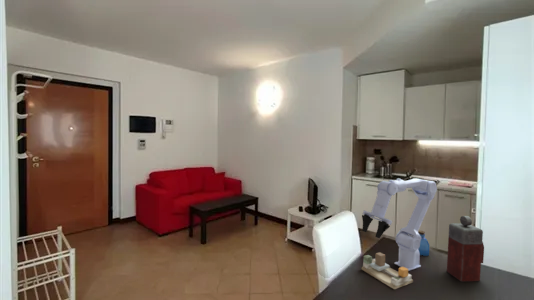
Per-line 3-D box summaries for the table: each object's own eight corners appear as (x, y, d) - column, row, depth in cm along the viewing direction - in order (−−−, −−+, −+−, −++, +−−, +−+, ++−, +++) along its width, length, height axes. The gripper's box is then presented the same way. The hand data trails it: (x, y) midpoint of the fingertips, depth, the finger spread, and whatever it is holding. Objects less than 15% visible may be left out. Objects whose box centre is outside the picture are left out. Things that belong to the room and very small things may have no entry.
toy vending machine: (485, 280, 118) (488, 219, 116) (461, 281, 117) (464, 219, 115) (468, 270, 127) (472, 213, 125) (446, 271, 126) (449, 213, 124)
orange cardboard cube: (402, 273, 117) (403, 266, 116) (407, 275, 114) (408, 269, 114) (398, 274, 115) (398, 268, 115) (403, 277, 113) (403, 270, 113)
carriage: (380, 263, 128) (381, 250, 128) (389, 267, 124) (390, 254, 123) (370, 266, 125) (370, 253, 125) (379, 271, 121) (379, 257, 120)
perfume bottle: (428, 256, 142) (429, 234, 141) (416, 254, 143) (417, 233, 142) (424, 251, 148) (425, 230, 147) (412, 250, 149) (413, 229, 148)
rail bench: (379, 264, 132) (379, 251, 132) (412, 282, 116) (413, 268, 116) (361, 269, 127) (361, 256, 127) (394, 289, 111) (394, 274, 110)
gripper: (362, 199, 126) (352, 226, 125) (388, 208, 113) (378, 238, 112) (372, 204, 129) (362, 230, 128) (398, 212, 116) (388, 242, 115)
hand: (370, 234), depth 120 cm, fingers open, 7 cm apart
